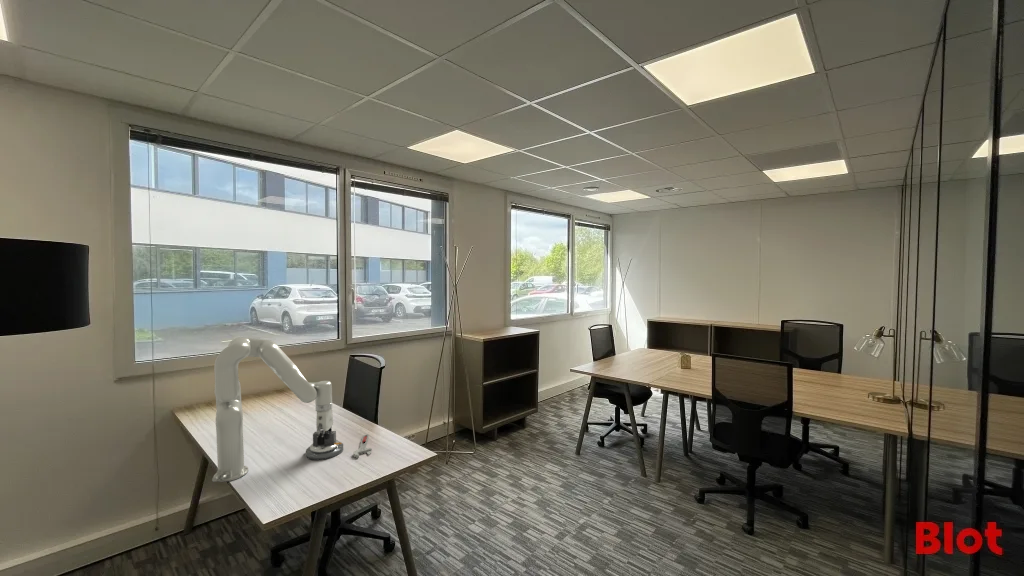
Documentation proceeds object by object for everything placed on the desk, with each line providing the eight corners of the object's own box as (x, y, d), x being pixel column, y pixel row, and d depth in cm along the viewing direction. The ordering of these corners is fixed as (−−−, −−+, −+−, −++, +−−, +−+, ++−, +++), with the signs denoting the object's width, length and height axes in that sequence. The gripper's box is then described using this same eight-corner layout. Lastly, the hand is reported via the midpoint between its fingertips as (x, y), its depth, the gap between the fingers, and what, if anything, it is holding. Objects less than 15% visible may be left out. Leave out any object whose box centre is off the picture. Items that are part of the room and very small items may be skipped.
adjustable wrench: (379, 436, 217) (379, 432, 217) (369, 458, 192) (369, 454, 191) (363, 437, 216) (363, 434, 216) (351, 459, 190) (351, 455, 190)
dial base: (336, 459, 190) (336, 454, 190) (299, 461, 188) (299, 456, 188) (347, 443, 207) (347, 439, 207) (314, 445, 205) (313, 440, 205)
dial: (305, 453, 190) (305, 438, 190) (316, 442, 203) (316, 427, 203) (336, 452, 192) (336, 437, 191) (345, 441, 204) (345, 426, 204)
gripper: (325, 412, 188) (326, 447, 189) (337, 400, 205) (338, 432, 206) (308, 413, 187) (309, 448, 188) (322, 400, 205) (323, 433, 205)
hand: (324, 440), depth 197 cm, fingers open, 9 cm apart
